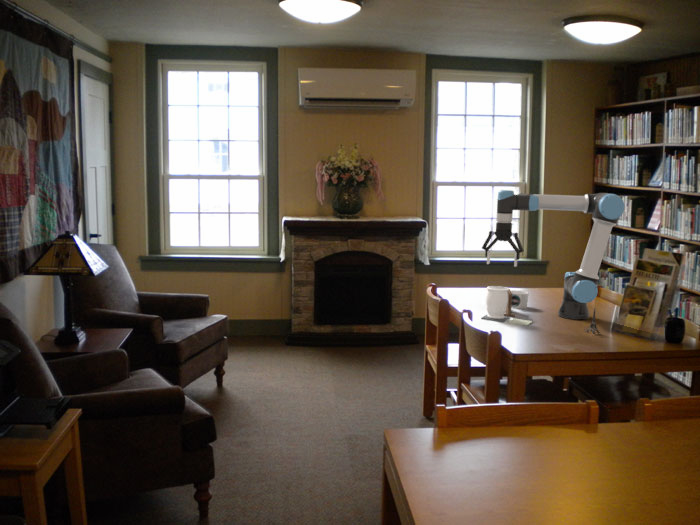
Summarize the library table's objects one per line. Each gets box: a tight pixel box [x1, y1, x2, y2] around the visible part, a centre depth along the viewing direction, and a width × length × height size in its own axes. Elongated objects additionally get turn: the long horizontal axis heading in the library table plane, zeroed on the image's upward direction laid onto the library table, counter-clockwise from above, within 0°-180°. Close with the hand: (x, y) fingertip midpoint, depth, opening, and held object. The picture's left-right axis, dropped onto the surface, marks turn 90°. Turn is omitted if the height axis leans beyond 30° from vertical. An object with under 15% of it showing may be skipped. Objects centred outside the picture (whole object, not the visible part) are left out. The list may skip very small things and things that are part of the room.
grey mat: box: [480, 313, 510, 323], centre depth 352 cm, size 11×11×1 cm
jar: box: [485, 285, 510, 319], centre depth 351 cm, size 11×10×15 cm
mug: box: [510, 289, 529, 310], centre depth 383 cm, size 13×10×8 cm
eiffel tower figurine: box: [585, 307, 601, 334], centre depth 328 cm, size 15×10×13 cm
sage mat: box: [508, 317, 533, 326], centre depth 345 cm, size 9×9×1 cm
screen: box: [504, 286, 516, 318], centre depth 366 cm, size 6×18×12 cm, turn 175°
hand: (501, 265), depth 350 cm, fingers open, 13 cm apart
